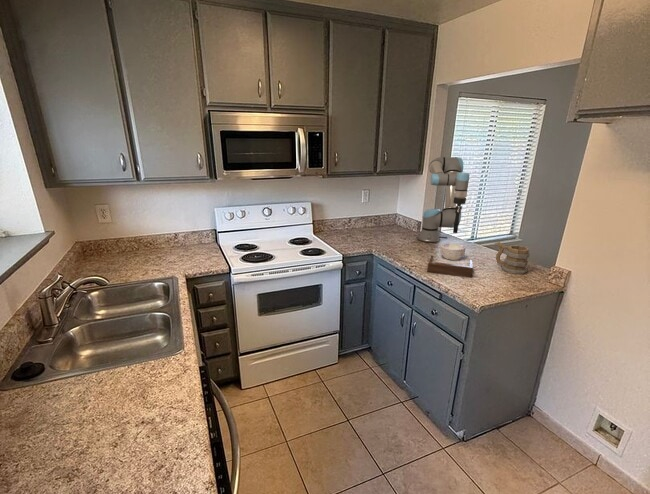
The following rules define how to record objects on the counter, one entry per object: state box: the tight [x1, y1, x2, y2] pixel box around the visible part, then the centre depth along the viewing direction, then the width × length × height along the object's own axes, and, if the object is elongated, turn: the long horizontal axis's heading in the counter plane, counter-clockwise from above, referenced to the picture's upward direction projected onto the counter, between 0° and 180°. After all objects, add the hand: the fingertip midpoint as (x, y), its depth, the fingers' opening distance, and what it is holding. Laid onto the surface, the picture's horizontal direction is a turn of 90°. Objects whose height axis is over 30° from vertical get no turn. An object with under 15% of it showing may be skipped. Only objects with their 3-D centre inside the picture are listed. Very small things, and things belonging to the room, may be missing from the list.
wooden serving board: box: [427, 255, 474, 279], centre depth 211 cm, size 17×24×6 cm
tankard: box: [494, 241, 531, 275], centre depth 212 cm, size 20×13×15 cm, turn 42°
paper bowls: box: [439, 243, 466, 261], centre depth 231 cm, size 15×15×8 cm
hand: (455, 232), depth 239 cm, fingers closed
